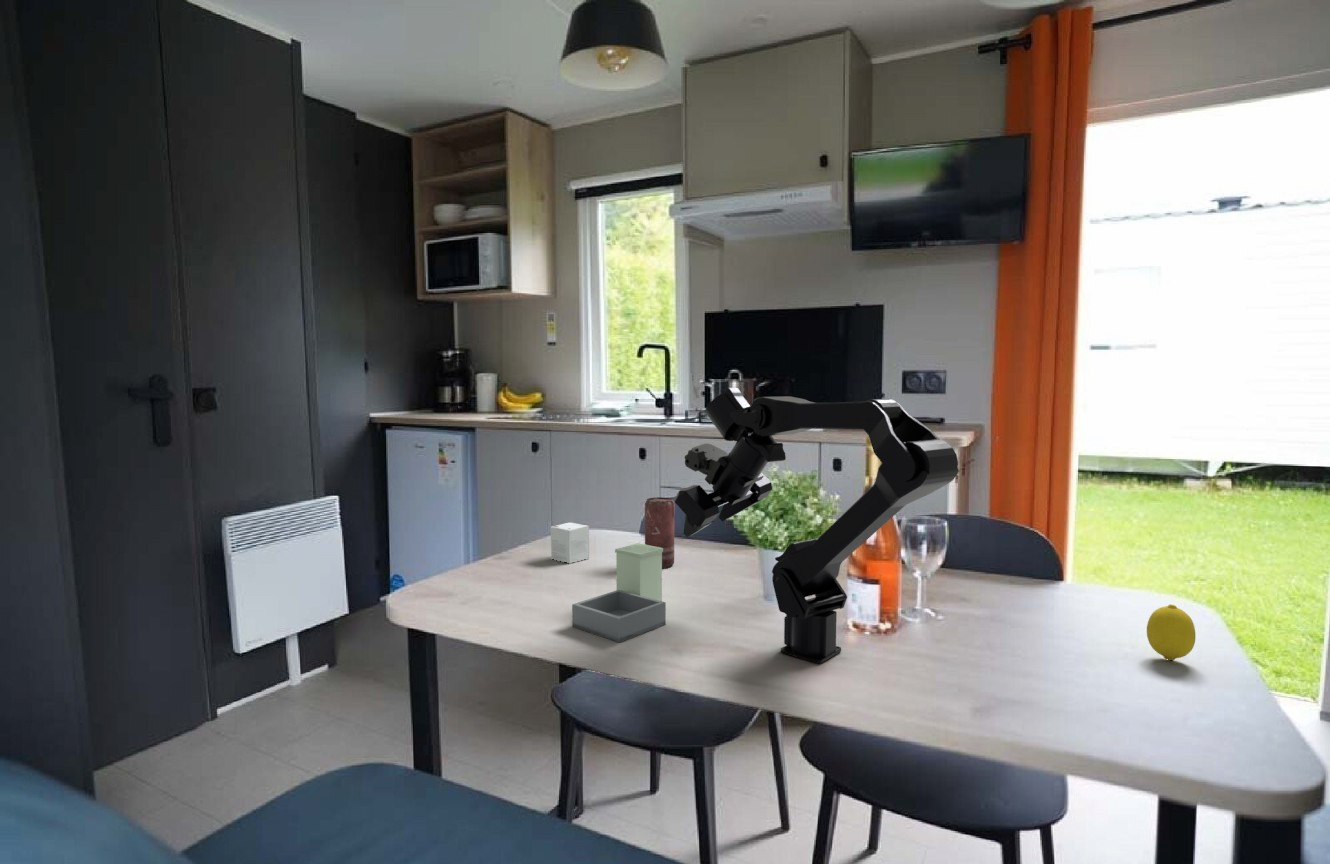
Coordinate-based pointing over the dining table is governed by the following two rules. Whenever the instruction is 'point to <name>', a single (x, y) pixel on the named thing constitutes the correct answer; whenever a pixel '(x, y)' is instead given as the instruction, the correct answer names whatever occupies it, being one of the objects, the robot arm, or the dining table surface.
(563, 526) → the skincare box
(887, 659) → the dining table surface
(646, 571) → the small green box
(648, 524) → the can
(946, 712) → the dining table surface
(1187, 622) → the lemon
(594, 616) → the crate
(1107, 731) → the dining table surface
